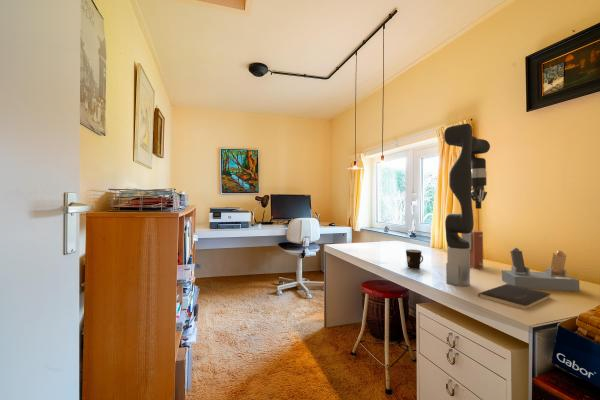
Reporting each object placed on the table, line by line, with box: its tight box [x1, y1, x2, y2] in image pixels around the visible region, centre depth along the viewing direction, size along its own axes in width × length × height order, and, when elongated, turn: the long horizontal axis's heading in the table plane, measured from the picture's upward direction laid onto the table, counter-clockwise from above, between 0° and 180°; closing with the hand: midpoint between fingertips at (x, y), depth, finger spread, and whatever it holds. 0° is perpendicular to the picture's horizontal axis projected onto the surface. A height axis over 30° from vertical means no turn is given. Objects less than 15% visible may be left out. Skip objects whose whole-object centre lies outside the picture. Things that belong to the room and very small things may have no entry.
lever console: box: [501, 265, 580, 292], centre depth 126 cm, size 24×12×8 cm, turn 77°
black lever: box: [509, 247, 526, 273], centre depth 130 cm, size 4×3×12 cm, turn 76°
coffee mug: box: [405, 249, 424, 270], centre depth 159 cm, size 12×9×10 cm
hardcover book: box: [477, 283, 552, 310], centre depth 111 cm, size 16×23×2 cm
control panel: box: [460, 229, 484, 269], centre depth 164 cm, size 21×7×15 cm
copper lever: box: [550, 250, 567, 276], centre depth 123 cm, size 4×3×12 cm, turn 76°
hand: (478, 208), depth 151 cm, fingers closed
